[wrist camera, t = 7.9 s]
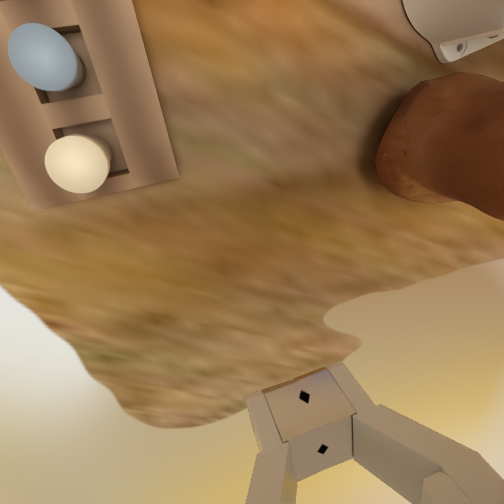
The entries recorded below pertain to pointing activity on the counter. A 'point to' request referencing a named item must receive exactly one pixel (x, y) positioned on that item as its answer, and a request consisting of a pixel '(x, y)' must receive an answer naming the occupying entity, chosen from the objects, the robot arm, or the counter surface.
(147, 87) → the wooden board with holes
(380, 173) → the brown rounded block
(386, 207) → the counter surface
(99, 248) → the counter surface
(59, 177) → the plunger cream
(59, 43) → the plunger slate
